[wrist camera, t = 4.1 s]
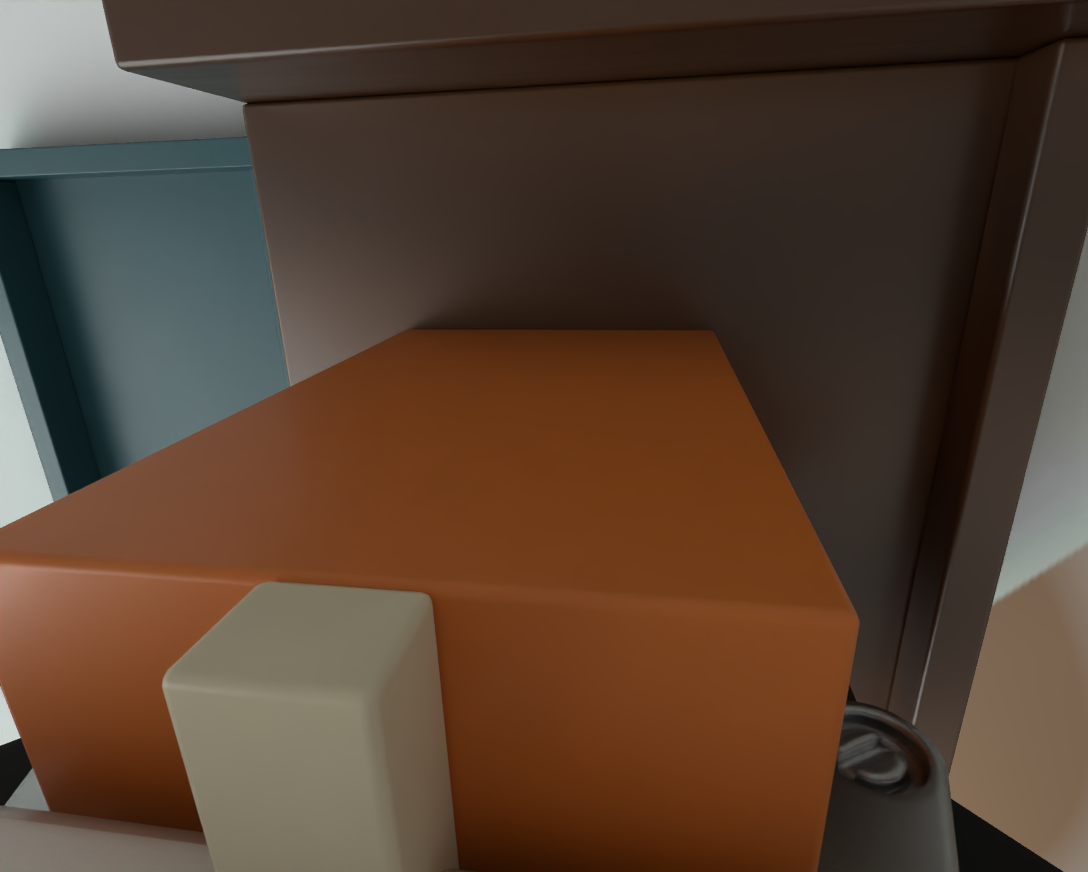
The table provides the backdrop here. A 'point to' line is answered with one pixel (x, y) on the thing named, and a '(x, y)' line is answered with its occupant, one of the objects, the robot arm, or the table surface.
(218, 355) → the tray
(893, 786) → the robot arm
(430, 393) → the packet
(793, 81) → the shelf
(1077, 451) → the table surface
